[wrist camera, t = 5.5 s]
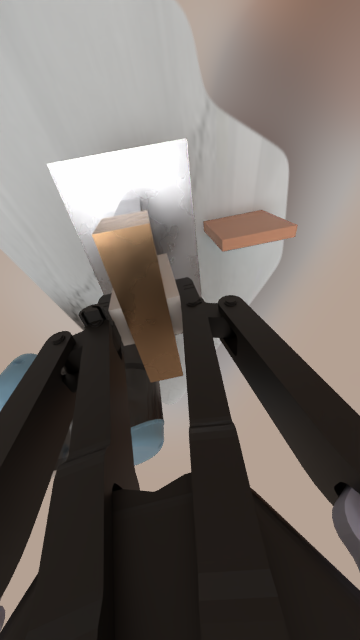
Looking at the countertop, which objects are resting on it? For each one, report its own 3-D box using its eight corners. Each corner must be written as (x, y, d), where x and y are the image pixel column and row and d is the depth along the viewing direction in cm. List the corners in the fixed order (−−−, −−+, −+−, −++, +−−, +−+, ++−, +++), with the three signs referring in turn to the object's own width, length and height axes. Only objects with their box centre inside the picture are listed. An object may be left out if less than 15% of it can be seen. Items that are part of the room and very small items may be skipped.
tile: (260, 220, 36) (294, 238, 28) (204, 232, 35) (222, 253, 27) (261, 209, 34) (297, 225, 27) (203, 221, 34) (222, 240, 26)
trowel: (201, 310, 25) (233, 385, 17) (121, 327, 25) (112, 413, 16) (184, 139, 15) (241, 112, 7) (50, 163, 15) (-64, 167, 7)
